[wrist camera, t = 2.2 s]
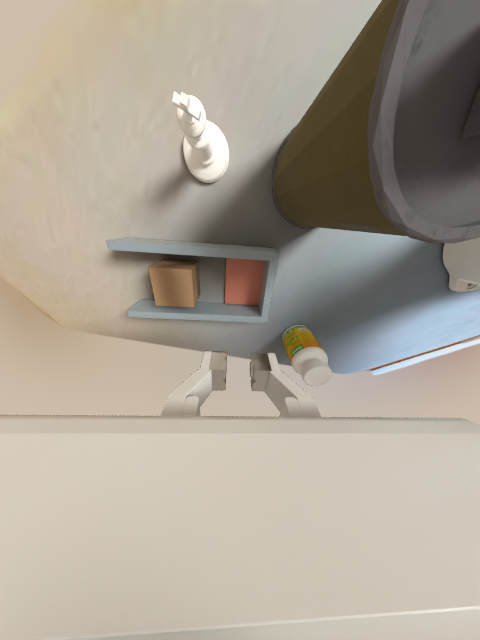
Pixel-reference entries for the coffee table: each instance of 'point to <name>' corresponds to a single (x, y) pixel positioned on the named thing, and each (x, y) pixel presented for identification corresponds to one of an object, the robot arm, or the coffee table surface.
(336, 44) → the coffee table surface
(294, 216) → the canister
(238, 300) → the channel
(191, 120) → the chess piece
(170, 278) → the walnut cube
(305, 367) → the supplement bottle
